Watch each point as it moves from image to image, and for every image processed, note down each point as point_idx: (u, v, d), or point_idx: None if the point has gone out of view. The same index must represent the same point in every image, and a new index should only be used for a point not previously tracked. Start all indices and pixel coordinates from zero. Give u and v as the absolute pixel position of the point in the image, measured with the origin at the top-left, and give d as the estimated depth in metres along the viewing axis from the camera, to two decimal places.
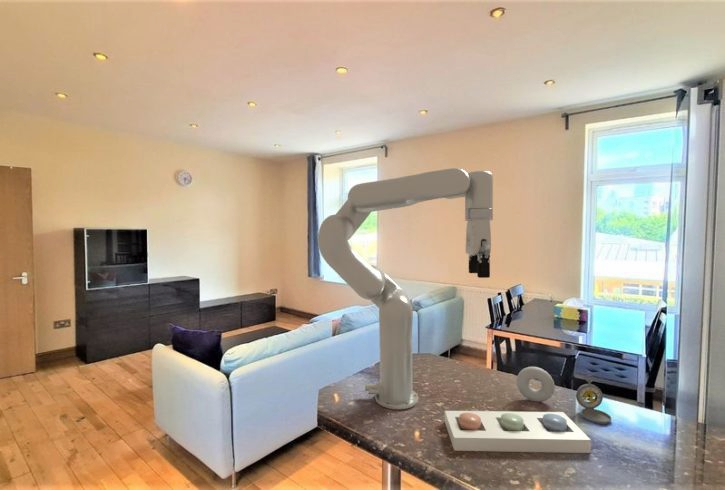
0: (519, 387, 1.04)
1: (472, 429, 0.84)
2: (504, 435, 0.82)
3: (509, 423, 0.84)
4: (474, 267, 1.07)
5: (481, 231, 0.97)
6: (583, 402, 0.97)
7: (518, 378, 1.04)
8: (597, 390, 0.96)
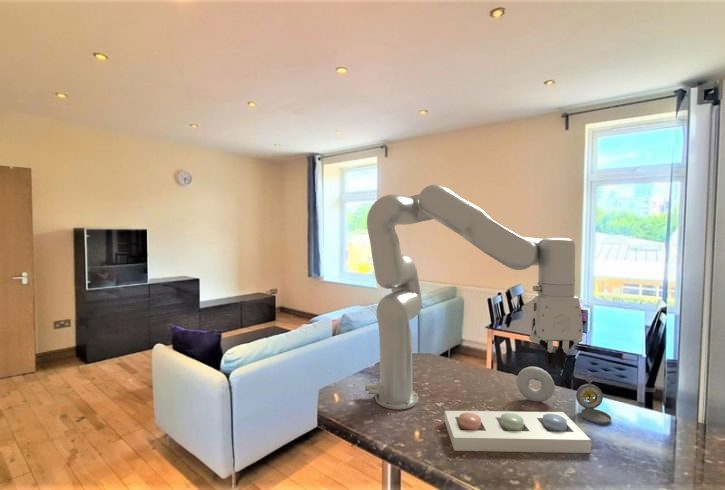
0: (519, 387, 1.04)
1: (472, 429, 0.84)
2: (504, 435, 0.82)
3: (509, 423, 0.84)
4: None
5: None
6: (583, 402, 0.97)
7: (518, 378, 1.04)
8: (597, 390, 0.96)
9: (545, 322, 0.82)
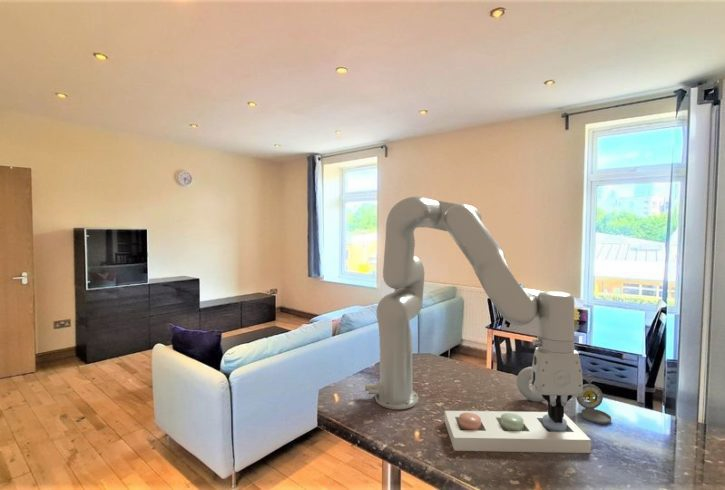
0: (519, 387, 1.04)
1: (472, 429, 0.84)
2: (504, 435, 0.82)
3: (509, 423, 0.84)
4: None
5: None
6: (583, 402, 0.97)
7: (518, 378, 1.04)
8: (597, 390, 0.96)
9: (545, 377, 0.83)
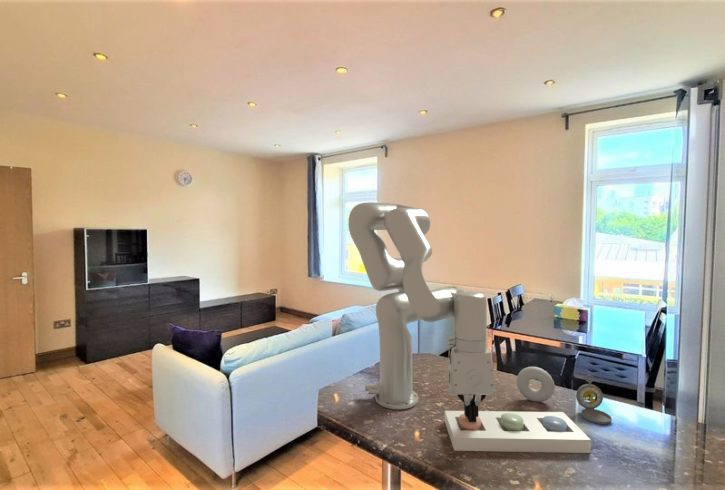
0: (519, 387, 1.04)
1: (472, 430, 0.84)
2: (504, 435, 0.82)
3: (509, 423, 0.84)
4: None
5: None
6: (583, 402, 0.97)
7: (518, 378, 1.04)
8: (597, 390, 0.96)
9: (458, 377, 0.83)
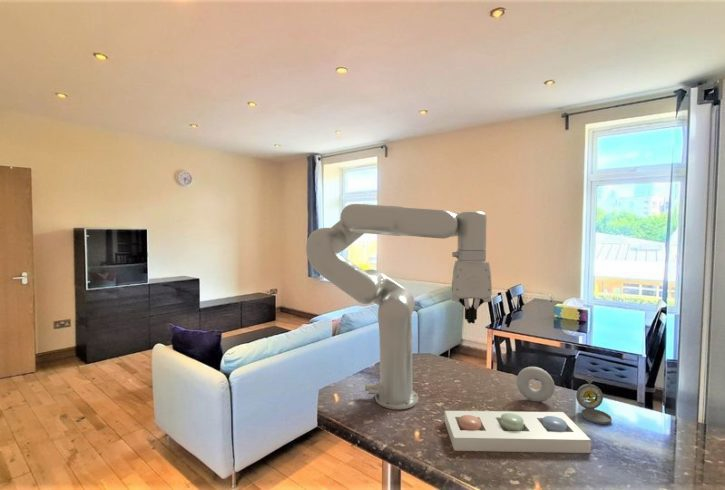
0: (519, 387, 1.04)
1: None
2: (504, 435, 0.82)
3: (509, 423, 0.84)
4: None
5: None
6: (583, 402, 0.97)
7: (518, 378, 1.04)
8: (597, 390, 0.96)
9: (459, 282, 0.97)
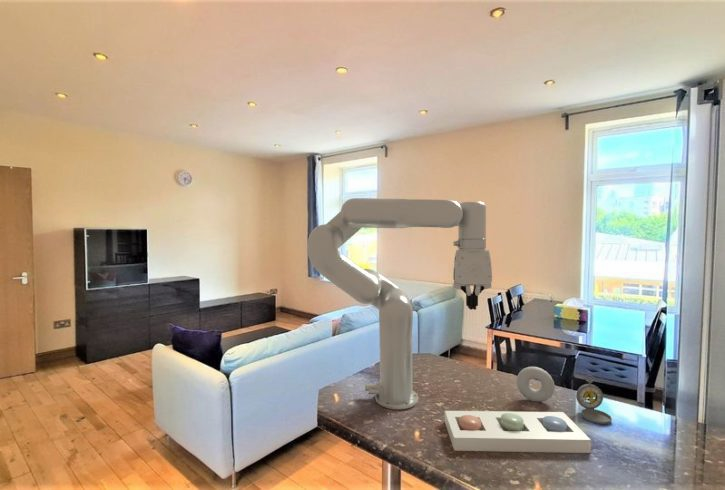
0: (519, 387, 1.04)
1: None
2: (504, 435, 0.82)
3: (509, 423, 0.84)
4: None
5: None
6: (583, 402, 0.97)
7: (518, 378, 1.04)
8: (597, 390, 0.96)
9: (461, 270, 1.00)
